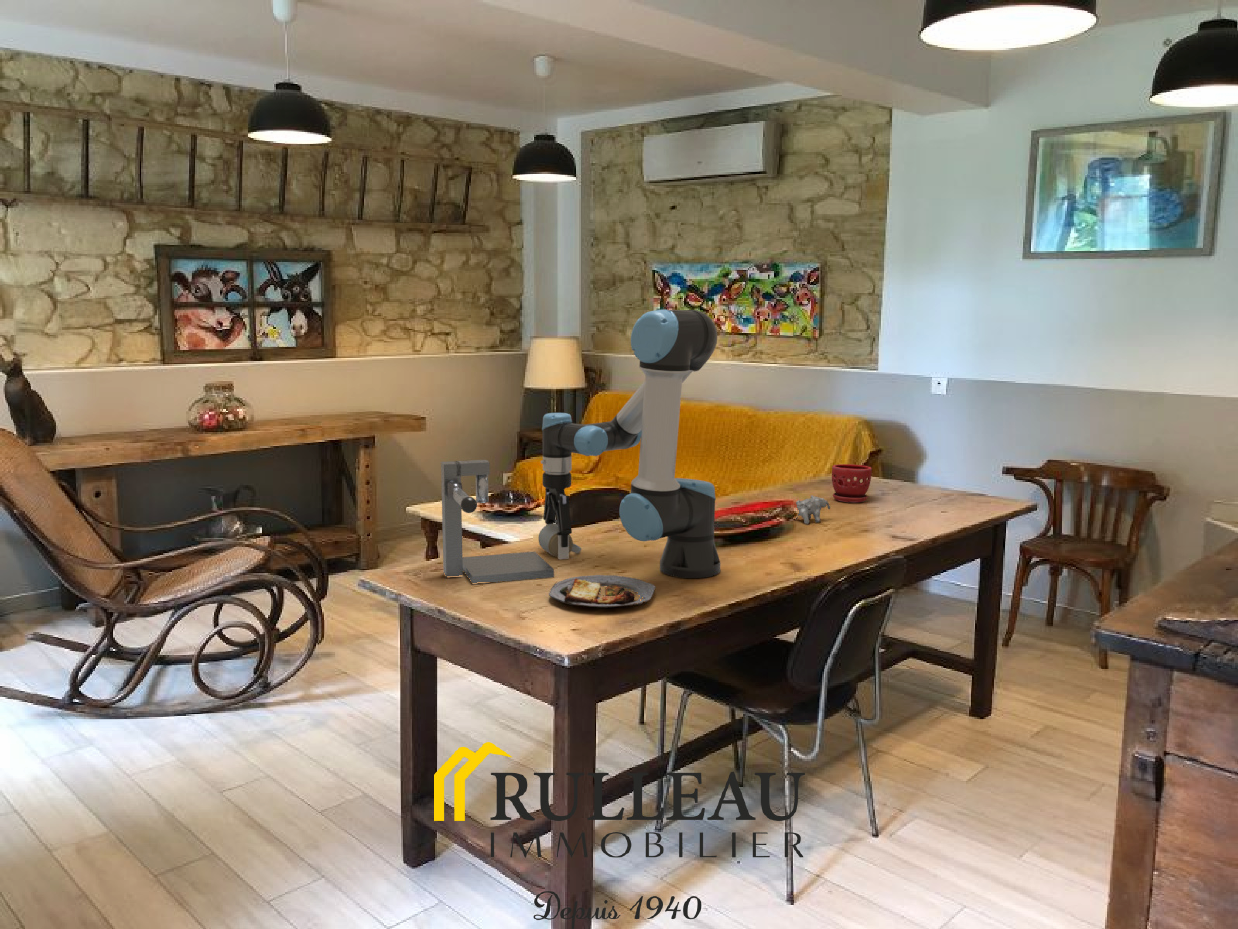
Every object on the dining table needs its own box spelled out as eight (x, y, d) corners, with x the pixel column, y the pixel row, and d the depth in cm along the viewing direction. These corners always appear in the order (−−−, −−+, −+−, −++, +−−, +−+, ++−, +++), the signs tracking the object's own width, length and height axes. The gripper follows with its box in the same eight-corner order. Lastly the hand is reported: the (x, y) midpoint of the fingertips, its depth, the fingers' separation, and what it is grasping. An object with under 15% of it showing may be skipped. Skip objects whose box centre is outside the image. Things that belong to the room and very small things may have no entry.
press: (553, 577, 236) (553, 463, 231) (451, 586, 228) (449, 469, 223) (534, 558, 253) (534, 452, 248) (438, 567, 244) (436, 457, 240)
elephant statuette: (787, 522, 299) (788, 498, 298) (810, 514, 307) (811, 490, 306) (812, 527, 293) (812, 503, 291) (835, 519, 301) (836, 495, 299)
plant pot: (874, 504, 324) (876, 469, 322) (834, 504, 325) (836, 469, 323) (865, 496, 337) (866, 462, 335) (827, 496, 337) (828, 462, 335)
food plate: (645, 617, 206) (645, 601, 206) (539, 612, 210) (539, 596, 210) (659, 587, 231) (660, 572, 230) (564, 583, 235) (564, 568, 234)
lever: (478, 514, 212) (478, 497, 212) (462, 516, 211) (462, 498, 210) (460, 497, 232) (460, 480, 231) (445, 497, 230) (445, 481, 230)
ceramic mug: (548, 559, 252) (549, 530, 251) (537, 552, 259) (538, 524, 258) (586, 556, 257) (586, 528, 255) (574, 549, 264) (574, 521, 263)
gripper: (531, 465, 264) (532, 543, 267) (555, 480, 242) (555, 565, 246) (558, 464, 266) (558, 541, 270) (584, 479, 245) (584, 563, 248)
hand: (557, 553), depth 258 cm, fingers open, 11 cm apart
